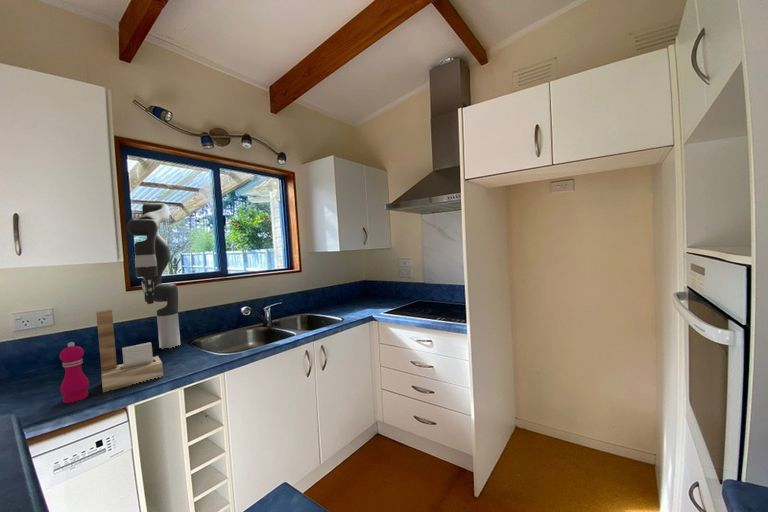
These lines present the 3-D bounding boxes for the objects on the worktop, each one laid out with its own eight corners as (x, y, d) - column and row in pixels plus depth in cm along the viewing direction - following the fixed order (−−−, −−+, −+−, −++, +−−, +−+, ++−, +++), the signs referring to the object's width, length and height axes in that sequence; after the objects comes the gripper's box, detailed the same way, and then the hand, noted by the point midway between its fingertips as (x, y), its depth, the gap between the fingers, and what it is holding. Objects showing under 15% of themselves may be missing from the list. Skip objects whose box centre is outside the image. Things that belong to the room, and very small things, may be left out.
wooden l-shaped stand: (102, 382, 122) (96, 311, 121) (158, 368, 134) (153, 303, 133) (103, 392, 113) (96, 315, 112) (163, 376, 126) (157, 307, 124)
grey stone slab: (124, 377, 123) (122, 347, 123) (153, 370, 129) (150, 342, 129) (125, 380, 121) (122, 349, 121) (153, 372, 127) (151, 343, 127)
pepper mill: (93, 392, 114) (88, 337, 114) (86, 400, 108) (80, 342, 107) (66, 397, 111) (61, 341, 110) (57, 406, 105) (51, 347, 104)
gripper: (133, 266, 138) (136, 302, 139) (136, 266, 128) (140, 306, 129) (154, 264, 144) (157, 299, 144) (159, 265, 133) (162, 303, 134)
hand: (149, 302), depth 136 cm, fingers open, 8 cm apart
